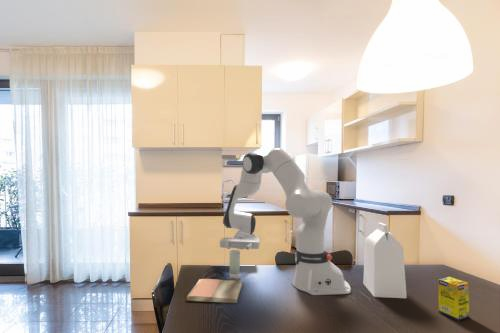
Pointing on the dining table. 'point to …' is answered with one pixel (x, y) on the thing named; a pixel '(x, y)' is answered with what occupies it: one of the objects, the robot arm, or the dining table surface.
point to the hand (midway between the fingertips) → (237, 247)
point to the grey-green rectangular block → (234, 265)
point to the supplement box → (453, 298)
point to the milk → (384, 264)
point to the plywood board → (215, 291)
